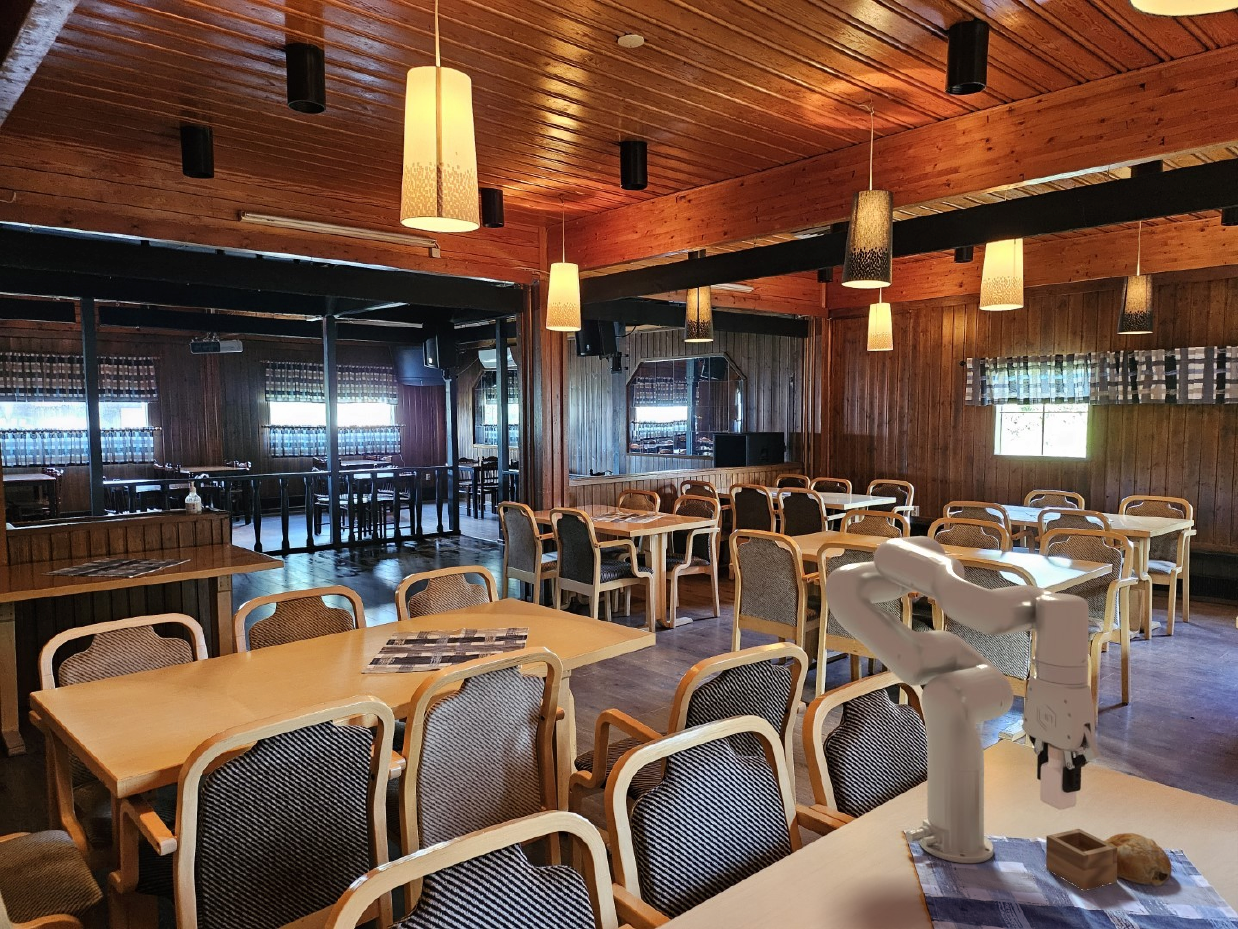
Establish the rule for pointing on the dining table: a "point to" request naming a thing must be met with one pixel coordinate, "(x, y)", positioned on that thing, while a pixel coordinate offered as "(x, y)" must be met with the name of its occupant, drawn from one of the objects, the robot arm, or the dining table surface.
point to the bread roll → (1140, 859)
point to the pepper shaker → (1055, 781)
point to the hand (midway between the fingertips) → (1058, 783)
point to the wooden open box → (1081, 859)
